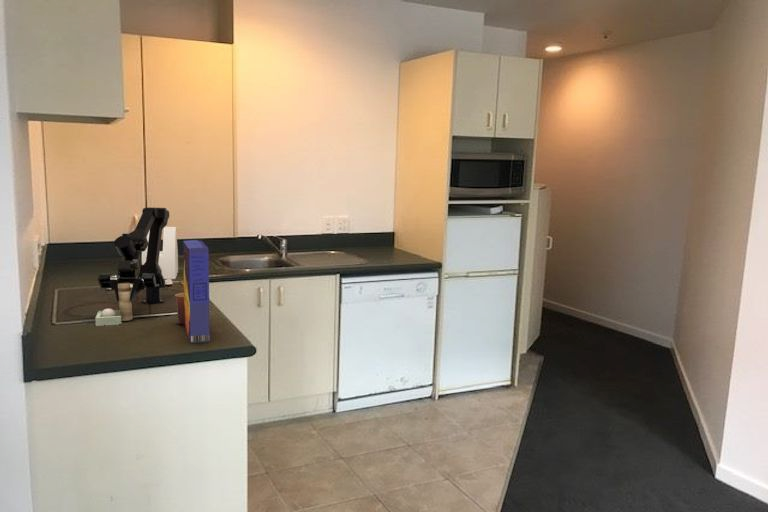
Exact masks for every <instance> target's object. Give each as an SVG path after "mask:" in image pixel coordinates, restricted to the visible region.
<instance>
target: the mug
mask: <svg viewBox="0 0 768 512" xmlns="http://www.w3.org/2000/svg"><path fill="white" fill-rule="evenodd" d="M174 298H175V301H176V306H177V307H176V308H177V309H176V318H177V323H178V324H180V325H182V326H185V317H184V292H180V293H176V294H174Z"/></svg>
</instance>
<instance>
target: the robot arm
mask: <svg viewBox="0 0 768 512" xmlns="http://www.w3.org/2000/svg"><path fill="white" fill-rule="evenodd" d="M169 218H170V211H169V210H168V209H167V208H166V207H153V206H152V207H143V208H142V213H141V215H140V218H139V220H138V222H137V224H136V226H135V228H134V229H133V231H130V232H129V233H122V234H121V235H120V236H118V237H117V238H115V239H114V242H113V244H114V247H115V248H116V250H117V253H118V254H119V256H121V257H122V259H121V260H117V262H116V263H117V265H116V271H117V275H118V276H117V275H112V273H99V274H98V276H97V281H98V284H99V287H100V288H101V289H111V290H112V291H114V294H115V297H116V298H115V299H116V301H117V302H119V294H118V283H124V282H129V283H130V284H133V285H132V287H131V295H130V301H131V302H132V301H134V299H135V298H136V297H137V295H138V294H139V293H140V292H141V291H143V290H144V298H145V299H142V302H143V303H145V304H147V305H151V304H160V303H164V300H162V299H161V289H162V288H163V289H164V288H165V287H166V279H164V278H163V276H162V270H161V268H160V266H159V264H158V262H159V253H160V251H161V244H162V236H163V235H162V234H163V230H164V227H167V225H168V222H169V221H168V220H169ZM149 230H150V233H149ZM148 233H149V241H147V235H148ZM147 246H148V249H147V257H146V262H145V263H144V265H142V264H141V265H140V262H141V253H142V252H143V251H145V250H146V248H147ZM140 252H141V253H140Z"/></svg>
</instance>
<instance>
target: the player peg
mask: <svg viewBox="0 0 768 512" xmlns="http://www.w3.org/2000/svg"><path fill="white" fill-rule="evenodd" d="M131 292H132V287H131V283H129V282H124V283H118V294H119V301H118V304H119V306H118V307H119V310H120V316H121V322H125V321H126V322H127V321H128V322H129V321H132V320H133V319H134V318H133V317H134V316H133V305H132V301H130V295H131Z"/></svg>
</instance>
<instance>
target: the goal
mask: <svg viewBox="0 0 768 512" xmlns="http://www.w3.org/2000/svg"><path fill="white" fill-rule="evenodd" d="M113 310H114V311H115V316H110V317H101V313H102V311H103V310H98V311H97V314H96V316H95V327H102V326H103V327H104V325H105V326H120V325H119V324H121V325H122V321H121V316H120V309H113Z"/></svg>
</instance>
